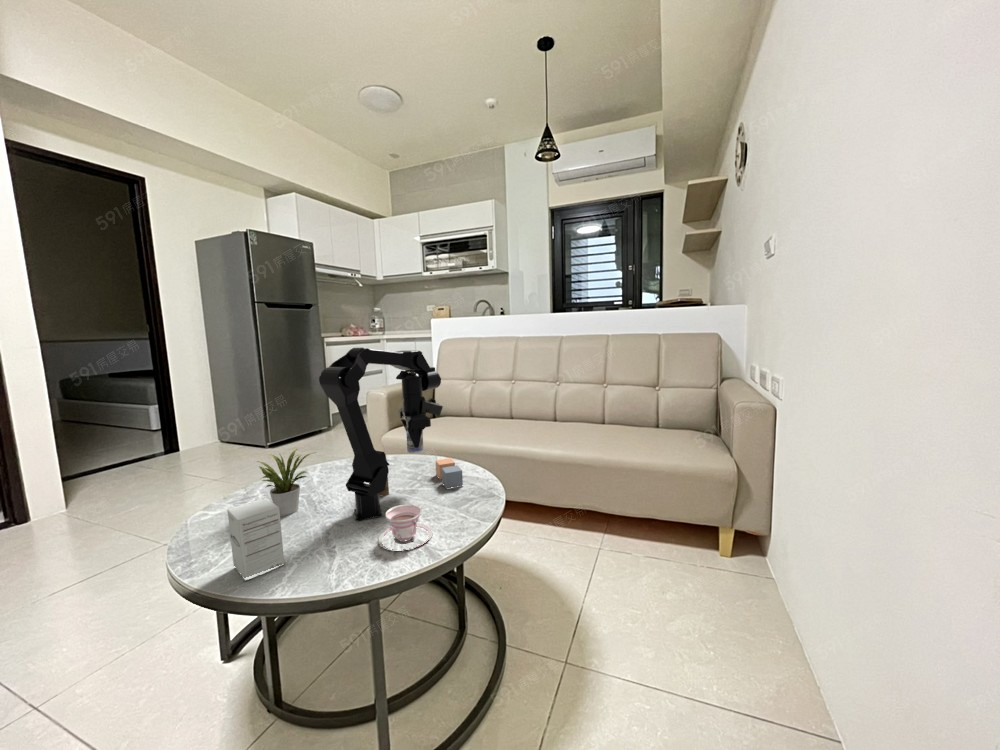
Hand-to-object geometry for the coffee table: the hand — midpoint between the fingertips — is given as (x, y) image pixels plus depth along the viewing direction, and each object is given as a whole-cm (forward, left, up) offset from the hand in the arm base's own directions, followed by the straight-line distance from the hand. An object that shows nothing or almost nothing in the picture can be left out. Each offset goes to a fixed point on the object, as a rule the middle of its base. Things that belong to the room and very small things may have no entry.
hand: (415, 445), depth 117 cm
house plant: (0, +34, -13) cm, 36 cm away
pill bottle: (0, 0, -2) cm, 2 cm away
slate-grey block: (-3, -10, -13) cm, 17 cm away
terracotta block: (+5, -10, -13) cm, 17 cm away
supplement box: (-27, +37, -13) cm, 48 cm away
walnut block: (+1, +11, -13) cm, 17 cm away
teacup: (-28, +8, -13) cm, 32 cm away
